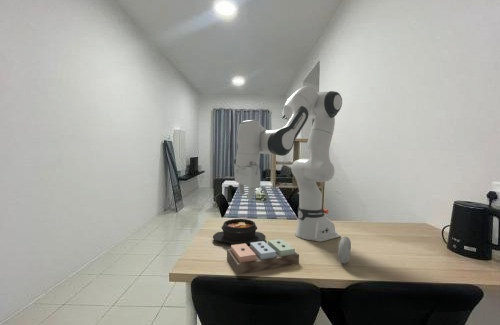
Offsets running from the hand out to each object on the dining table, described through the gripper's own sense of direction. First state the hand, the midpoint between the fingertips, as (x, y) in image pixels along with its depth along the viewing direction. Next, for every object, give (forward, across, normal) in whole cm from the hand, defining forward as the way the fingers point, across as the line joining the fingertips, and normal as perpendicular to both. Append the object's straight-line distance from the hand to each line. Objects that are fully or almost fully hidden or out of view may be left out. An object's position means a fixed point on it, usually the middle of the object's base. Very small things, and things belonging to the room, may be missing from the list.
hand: (245, 196), depth 95 cm
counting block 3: (+22, -5, -14) cm, 27 cm away
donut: (+23, -16, -36) cm, 46 cm away
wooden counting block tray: (+24, -5, -6) cm, 26 cm away
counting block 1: (+22, -5, +2) cm, 23 cm away
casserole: (+25, +19, -5) cm, 31 cm away
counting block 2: (+22, -5, -6) cm, 23 cm away
